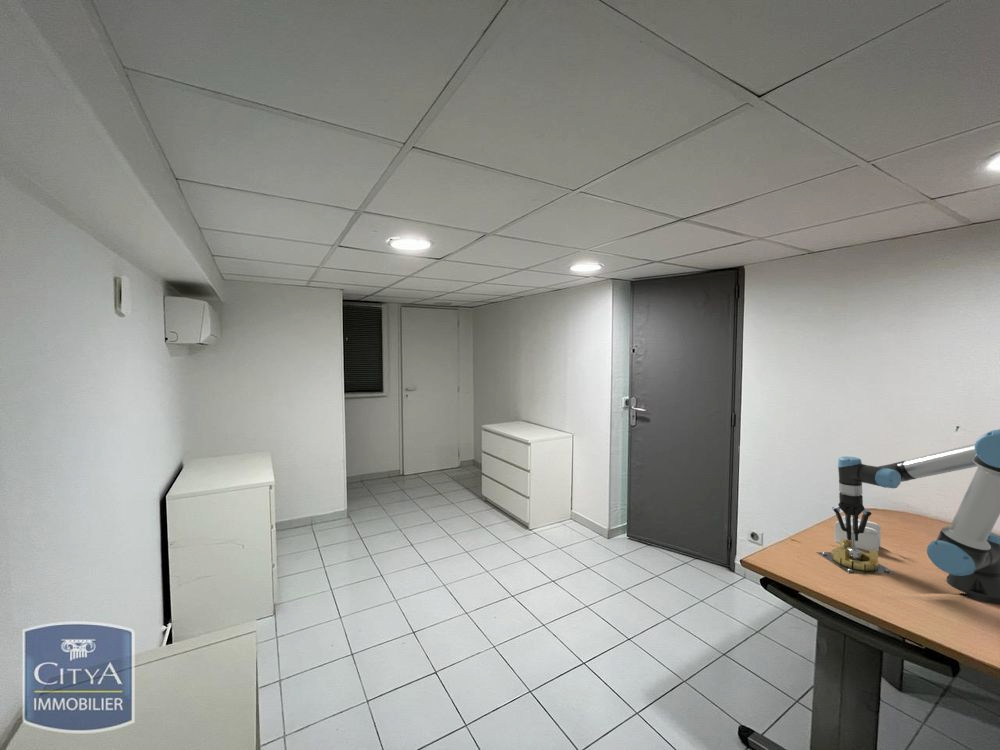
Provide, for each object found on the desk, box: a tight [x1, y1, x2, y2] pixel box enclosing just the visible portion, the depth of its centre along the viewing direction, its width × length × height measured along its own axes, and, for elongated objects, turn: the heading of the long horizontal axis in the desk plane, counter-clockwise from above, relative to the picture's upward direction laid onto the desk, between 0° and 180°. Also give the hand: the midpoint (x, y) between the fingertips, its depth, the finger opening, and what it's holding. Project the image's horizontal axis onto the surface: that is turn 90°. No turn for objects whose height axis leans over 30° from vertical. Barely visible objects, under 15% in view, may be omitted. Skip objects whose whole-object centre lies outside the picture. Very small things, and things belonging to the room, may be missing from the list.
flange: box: [816, 547, 897, 575], centre depth 167 cm, size 18×18×7 cm
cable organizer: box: [834, 515, 882, 552], centre depth 183 cm, size 15×11×12 cm
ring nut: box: [830, 539, 879, 571], centre depth 167 cm, size 14×14×7 cm
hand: (852, 547), depth 172 cm, fingers closed
